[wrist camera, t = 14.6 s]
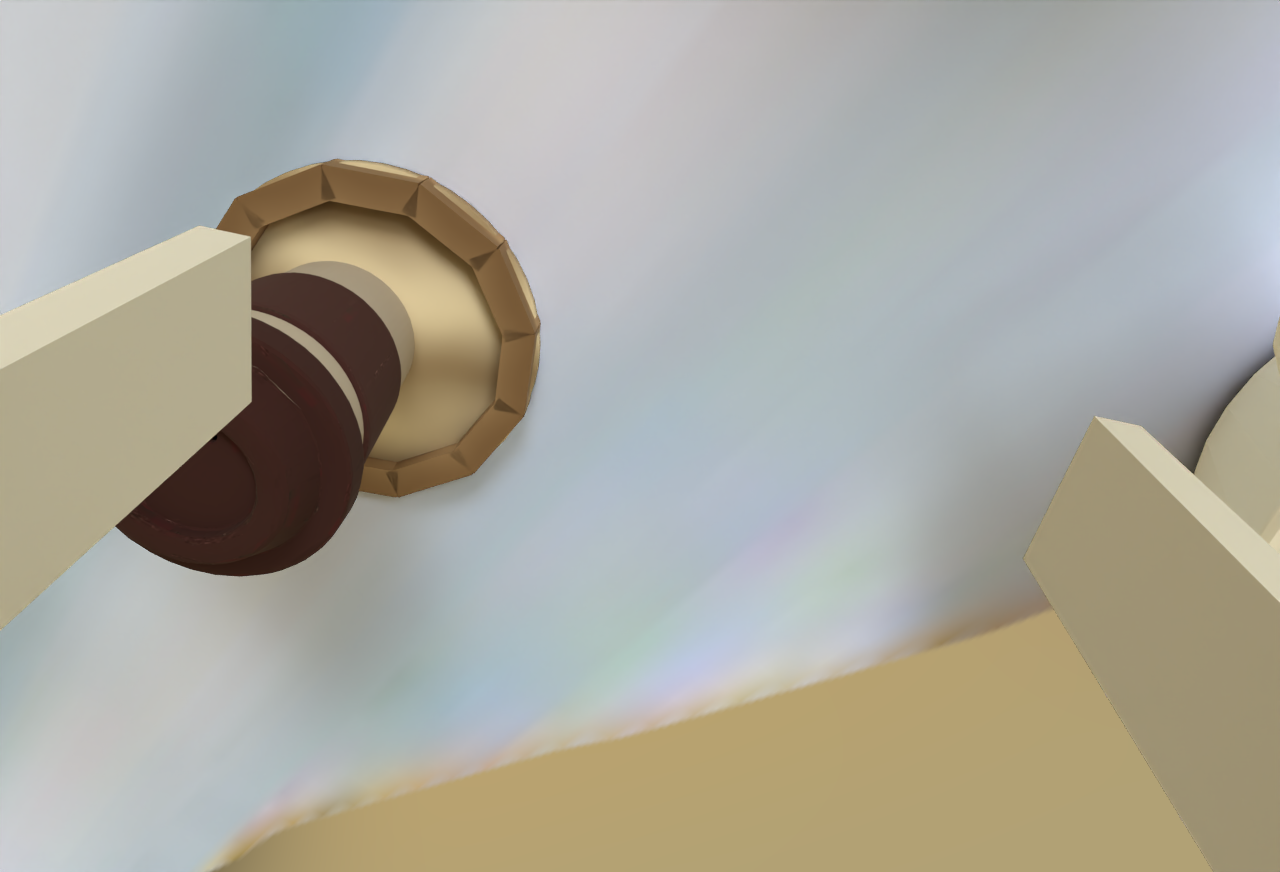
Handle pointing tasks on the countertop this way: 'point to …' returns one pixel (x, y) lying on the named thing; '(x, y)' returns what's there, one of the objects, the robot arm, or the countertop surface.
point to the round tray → (413, 305)
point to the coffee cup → (288, 428)
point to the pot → (1249, 452)
